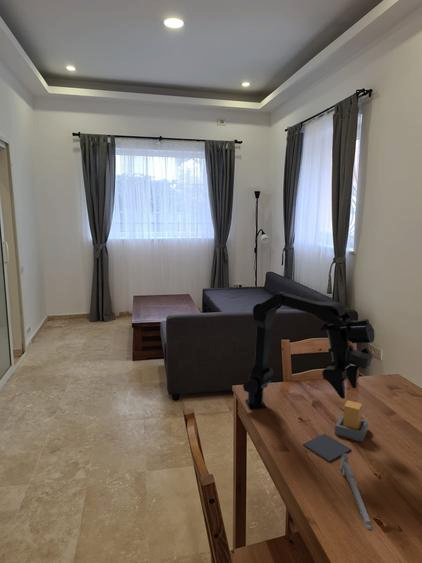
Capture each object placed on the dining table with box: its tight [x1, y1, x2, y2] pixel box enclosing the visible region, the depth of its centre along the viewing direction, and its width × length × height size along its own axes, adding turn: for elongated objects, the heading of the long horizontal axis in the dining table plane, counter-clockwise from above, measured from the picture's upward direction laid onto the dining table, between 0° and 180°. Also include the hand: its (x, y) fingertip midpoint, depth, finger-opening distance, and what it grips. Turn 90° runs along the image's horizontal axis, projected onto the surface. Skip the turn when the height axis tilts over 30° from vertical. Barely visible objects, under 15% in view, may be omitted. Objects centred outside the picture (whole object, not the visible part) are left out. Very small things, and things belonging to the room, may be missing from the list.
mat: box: [302, 433, 352, 463], centre depth 115 cm, size 10×10×1 cm
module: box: [343, 399, 363, 431], centre depth 123 cm, size 4×4×10 cm
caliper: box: [340, 453, 373, 530], centre depth 94 cm, size 20×1×6 cm, turn 178°
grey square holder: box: [334, 413, 369, 443], centre depth 123 cm, size 8×8×3 cm
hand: (349, 392), depth 117 cm, fingers open, 9 cm apart
